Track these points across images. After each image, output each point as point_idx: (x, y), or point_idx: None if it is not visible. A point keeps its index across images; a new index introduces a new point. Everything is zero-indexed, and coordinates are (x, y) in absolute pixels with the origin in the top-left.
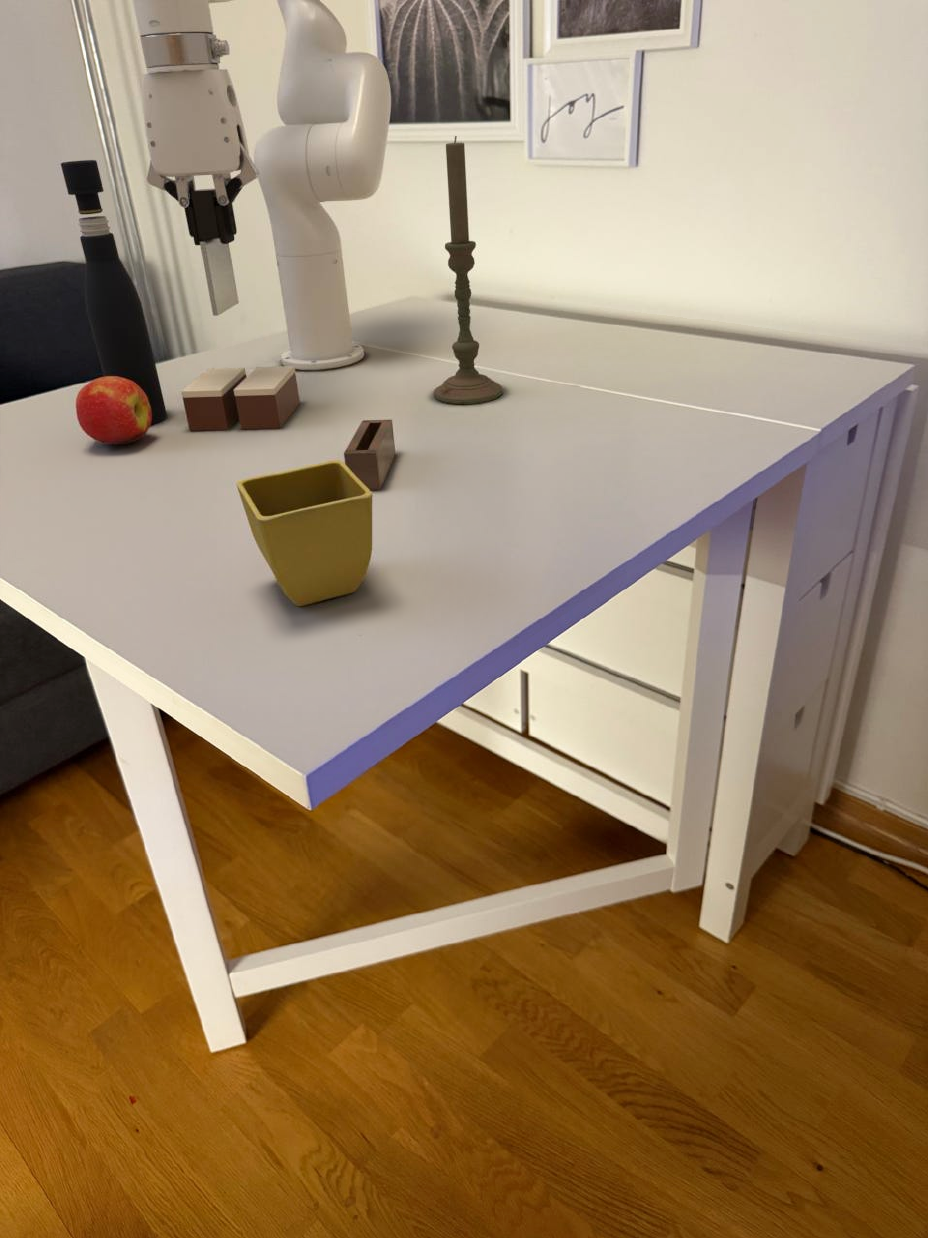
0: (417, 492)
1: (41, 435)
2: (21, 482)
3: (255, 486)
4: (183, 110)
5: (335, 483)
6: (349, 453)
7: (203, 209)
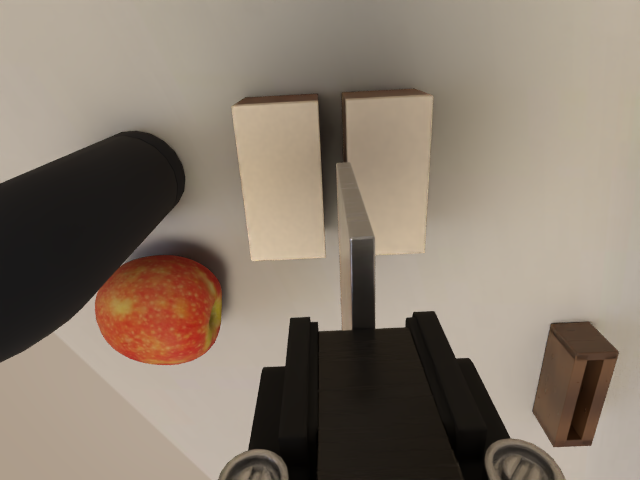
0: (605, 414)
1: None
2: (135, 395)
3: None
4: None
5: None
6: (559, 446)
7: None
